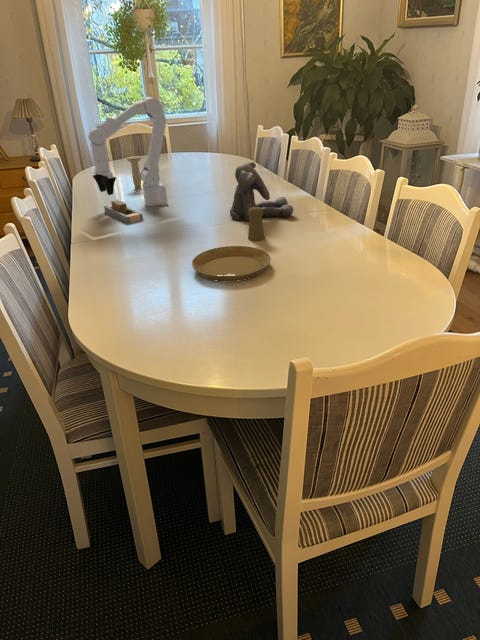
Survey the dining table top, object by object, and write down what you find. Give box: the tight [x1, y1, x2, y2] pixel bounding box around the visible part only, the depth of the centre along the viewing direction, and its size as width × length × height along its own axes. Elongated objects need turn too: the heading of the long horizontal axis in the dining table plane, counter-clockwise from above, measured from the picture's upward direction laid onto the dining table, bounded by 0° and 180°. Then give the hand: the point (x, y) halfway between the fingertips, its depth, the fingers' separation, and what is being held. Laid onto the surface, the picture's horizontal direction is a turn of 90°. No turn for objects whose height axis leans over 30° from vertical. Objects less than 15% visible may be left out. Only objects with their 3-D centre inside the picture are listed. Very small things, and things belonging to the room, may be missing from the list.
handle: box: [127, 155, 142, 190], centre depth 255 cm, size 5×6×15 cm
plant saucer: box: [191, 245, 272, 282], centre depth 159 cm, size 24×24×3 cm
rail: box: [103, 204, 145, 225], centre depth 212 cm, size 8×22×4 cm, turn 36°
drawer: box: [110, 199, 128, 215], centre depth 214 cm, size 3×8×5 cm, turn 37°
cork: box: [247, 207, 266, 242], centre depth 181 cm, size 6×6×11 cm
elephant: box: [229, 161, 294, 222], centre depth 203 cm, size 21×25×21 cm
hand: (106, 192), depth 218 cm, fingers open, 7 cm apart
